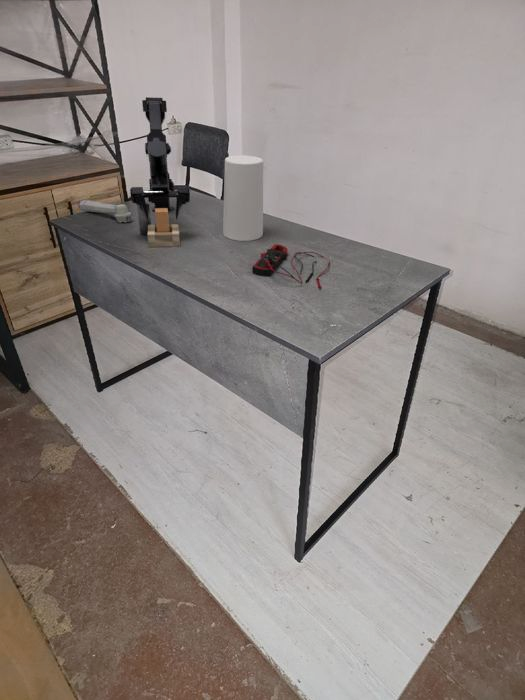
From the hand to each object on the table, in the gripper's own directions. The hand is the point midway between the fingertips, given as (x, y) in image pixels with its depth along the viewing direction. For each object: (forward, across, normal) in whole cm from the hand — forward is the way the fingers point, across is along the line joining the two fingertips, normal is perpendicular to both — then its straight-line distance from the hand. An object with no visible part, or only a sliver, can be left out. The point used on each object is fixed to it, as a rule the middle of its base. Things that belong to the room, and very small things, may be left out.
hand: (162, 218), depth 149 cm
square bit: (+4, 0, -6) cm, 8 cm away
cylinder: (+2, -27, -10) cm, 29 cm away
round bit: (-1, +6, -12) cm, 14 cm away
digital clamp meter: (+24, -38, +11) cm, 46 cm away
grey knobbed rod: (-15, +21, -27) cm, 37 cm away
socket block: (+5, 0, -7) cm, 8 cm away
